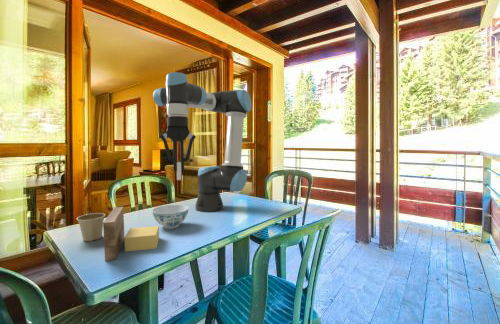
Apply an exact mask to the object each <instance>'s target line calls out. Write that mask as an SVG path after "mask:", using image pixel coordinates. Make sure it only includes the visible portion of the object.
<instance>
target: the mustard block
mask: <svg viewBox="0 0 500 324" xmlns="http://www.w3.org/2000/svg"><path fill="white" fill-rule="evenodd" d="M159 228H160V227H159V225H154V226H142V227H130V228H129V230H128V231H127V233H126V234H125V235H124V240H123V243H124V252H131V251H132V252H134V251H143V250H152V249H153V250H154V249H157V247H158V243H159V239H160V230H159Z"/></svg>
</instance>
